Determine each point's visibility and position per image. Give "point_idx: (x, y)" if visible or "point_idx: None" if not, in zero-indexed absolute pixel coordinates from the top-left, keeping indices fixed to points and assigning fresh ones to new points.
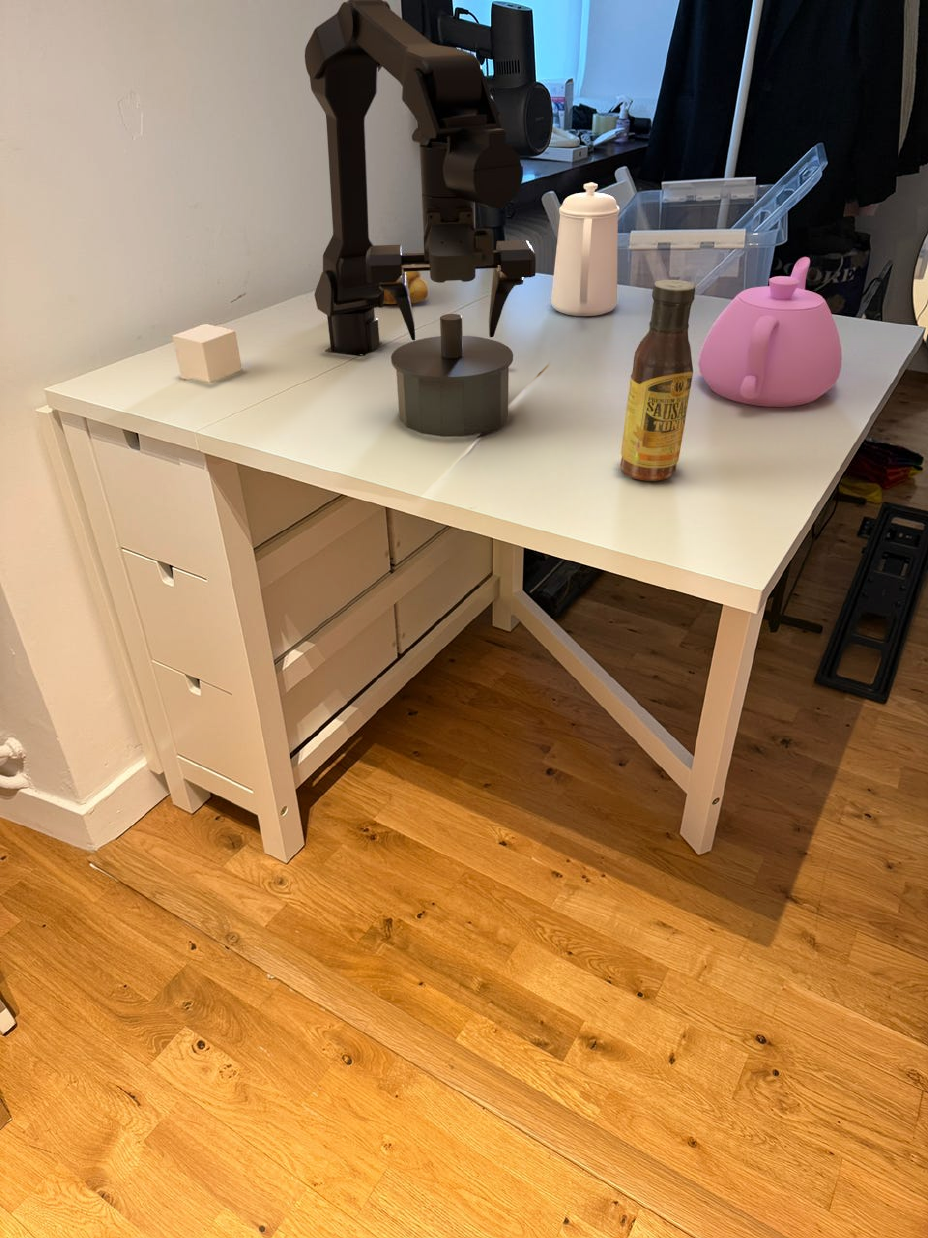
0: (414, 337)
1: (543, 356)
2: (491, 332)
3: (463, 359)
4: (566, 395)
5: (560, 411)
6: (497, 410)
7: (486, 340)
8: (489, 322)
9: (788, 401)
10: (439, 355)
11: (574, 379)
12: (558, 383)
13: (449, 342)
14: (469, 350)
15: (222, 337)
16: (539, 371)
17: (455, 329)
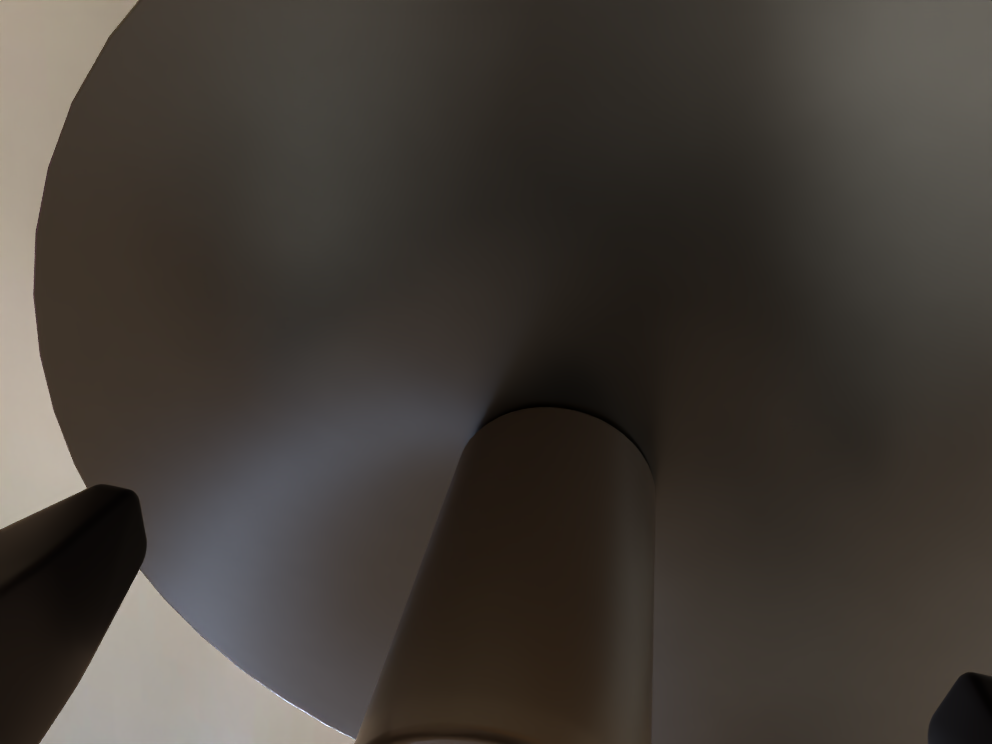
0: (989, 693)
1: (135, 698)
2: (86, 509)
3: (472, 358)
4: (24, 357)
5: (37, 187)
6: None
7: (253, 647)
8: (60, 640)
9: None
10: (669, 510)
11: (6, 494)
12: (68, 479)
13: (580, 520)
14: (392, 527)
15: None
16: (148, 599)
17: (480, 615)
